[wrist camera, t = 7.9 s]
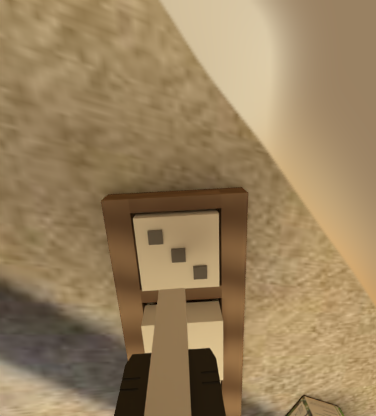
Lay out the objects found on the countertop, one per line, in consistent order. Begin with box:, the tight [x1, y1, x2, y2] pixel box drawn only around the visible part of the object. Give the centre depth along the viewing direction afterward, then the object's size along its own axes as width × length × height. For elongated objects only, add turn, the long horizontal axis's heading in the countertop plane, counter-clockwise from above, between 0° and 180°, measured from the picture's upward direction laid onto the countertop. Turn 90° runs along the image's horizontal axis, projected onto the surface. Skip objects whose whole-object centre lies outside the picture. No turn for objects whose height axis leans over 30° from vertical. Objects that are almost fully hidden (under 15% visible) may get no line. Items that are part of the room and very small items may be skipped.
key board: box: [101, 187, 248, 416], centre depth 24 cm, size 28×12×2 cm, turn 3°
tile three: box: [133, 209, 219, 291], centre depth 21 cm, size 7×7×3 cm
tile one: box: [141, 301, 223, 380], centre depth 22 cm, size 7×7×3 cm
